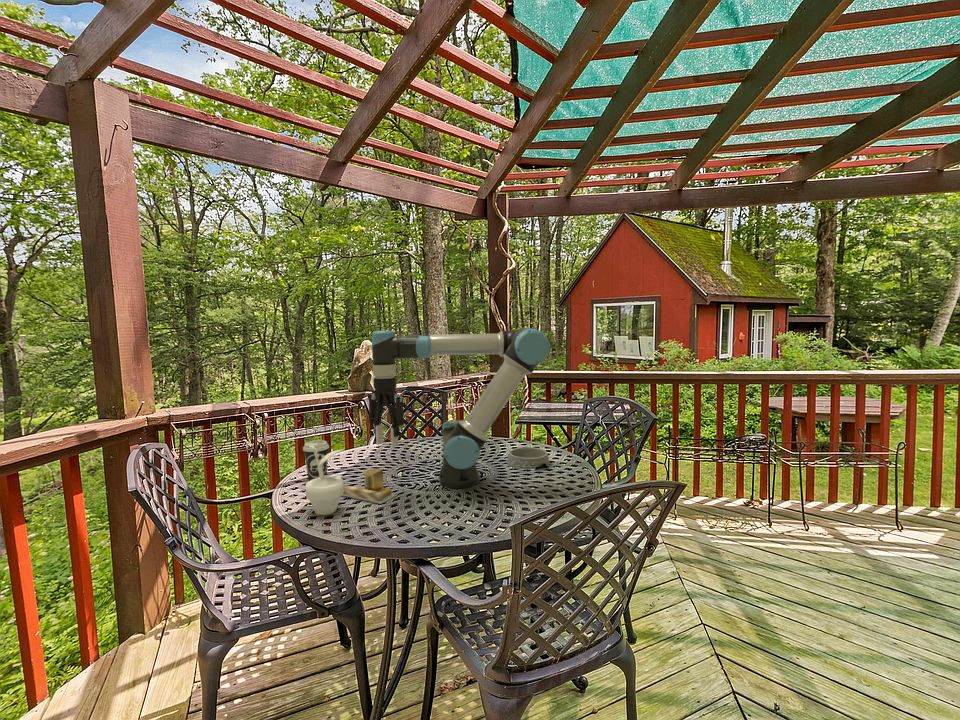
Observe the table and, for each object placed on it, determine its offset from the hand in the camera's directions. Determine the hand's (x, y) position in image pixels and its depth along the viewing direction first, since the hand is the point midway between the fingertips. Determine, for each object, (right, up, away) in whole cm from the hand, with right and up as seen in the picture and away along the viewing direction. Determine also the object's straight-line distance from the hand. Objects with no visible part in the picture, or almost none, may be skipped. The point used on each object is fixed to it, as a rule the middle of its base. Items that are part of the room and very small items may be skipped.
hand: (387, 444), depth 163 cm
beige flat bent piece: (-8, -18, +4) cm, 20 cm away
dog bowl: (+51, -15, +37) cm, 65 cm away
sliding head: (-6, -17, +4) cm, 19 cm away
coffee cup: (-30, -18, +21) cm, 41 cm away
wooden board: (-7, -19, +5) cm, 20 cm away
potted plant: (-17, -20, -8) cm, 28 cm away
